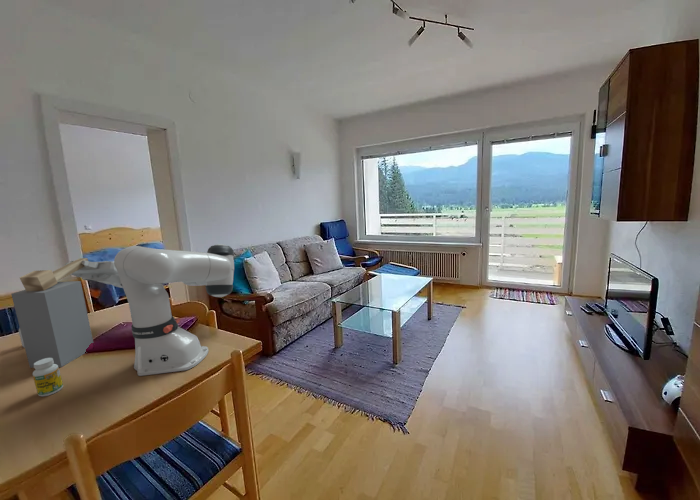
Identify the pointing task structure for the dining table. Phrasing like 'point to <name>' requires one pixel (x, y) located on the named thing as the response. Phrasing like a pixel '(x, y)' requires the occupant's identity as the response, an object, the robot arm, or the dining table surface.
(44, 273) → the mallet
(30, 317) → the pedestal
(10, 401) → the dining table surface
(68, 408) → the dining table surface
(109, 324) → the dining table surface
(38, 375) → the supplement bottle
